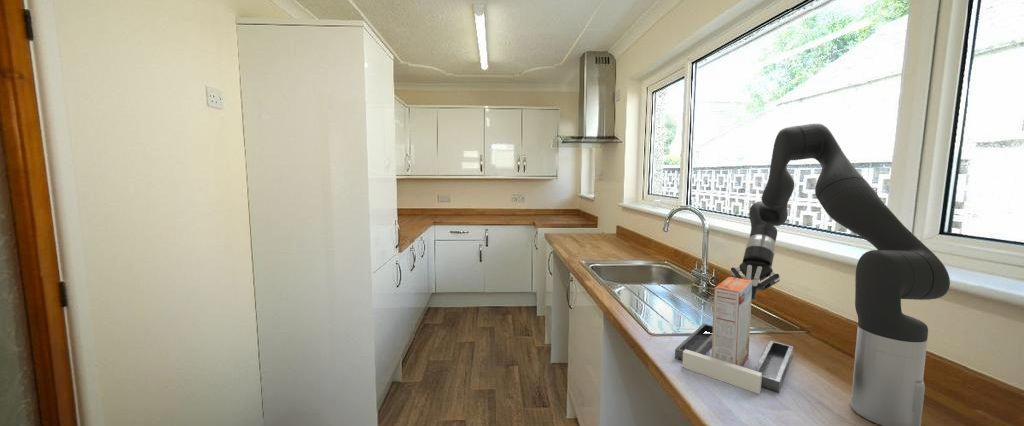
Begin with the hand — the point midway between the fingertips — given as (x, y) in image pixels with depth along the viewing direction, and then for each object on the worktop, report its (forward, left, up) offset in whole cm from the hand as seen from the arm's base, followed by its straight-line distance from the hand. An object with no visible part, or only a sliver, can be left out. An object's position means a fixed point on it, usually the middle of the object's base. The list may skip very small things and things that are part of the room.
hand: (749, 298), depth 104 cm
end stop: (0, +30, -12) cm, 32 cm away
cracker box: (0, +20, -12) cm, 23 cm away
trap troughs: (0, +15, -12) cm, 20 cm away
